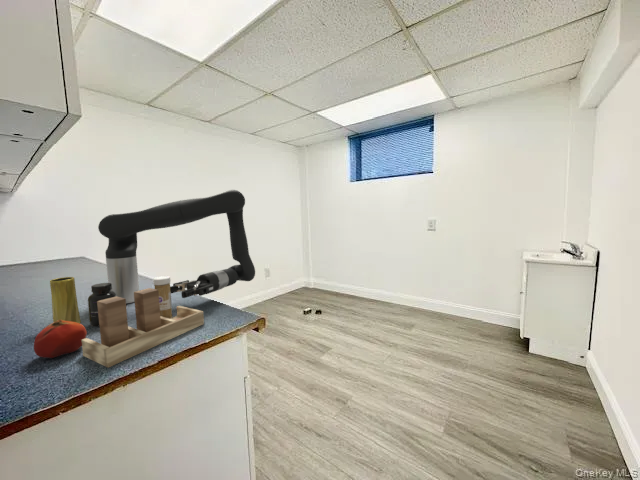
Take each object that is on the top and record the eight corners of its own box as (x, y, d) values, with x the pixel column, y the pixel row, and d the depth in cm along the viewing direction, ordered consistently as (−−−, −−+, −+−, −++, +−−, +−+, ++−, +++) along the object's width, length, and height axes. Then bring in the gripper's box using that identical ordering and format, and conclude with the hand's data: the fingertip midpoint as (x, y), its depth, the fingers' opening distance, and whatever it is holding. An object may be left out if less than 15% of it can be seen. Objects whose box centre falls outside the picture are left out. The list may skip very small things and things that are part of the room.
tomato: (82, 340, 70) (79, 311, 69) (93, 350, 64) (90, 319, 64) (31, 356, 62) (27, 323, 61) (39, 369, 57) (34, 333, 56)
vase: (47, 330, 76) (41, 282, 74) (62, 322, 82) (57, 277, 80) (72, 328, 77) (67, 280, 76) (85, 320, 83) (81, 276, 81)
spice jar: (154, 322, 81) (151, 279, 80) (158, 316, 85) (155, 276, 84) (171, 320, 82) (168, 278, 81) (174, 314, 87) (171, 275, 85)
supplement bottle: (91, 329, 76) (87, 289, 75) (88, 322, 81) (84, 284, 80) (120, 322, 81) (117, 284, 80) (116, 316, 86) (112, 280, 85)
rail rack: (83, 355, 62) (77, 302, 61) (180, 317, 84) (177, 278, 83) (108, 367, 57) (102, 310, 56) (204, 323, 79) (201, 282, 78)
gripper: (199, 270, 103) (159, 279, 89) (226, 273, 97) (187, 284, 83) (200, 288, 104) (160, 301, 90) (227, 293, 98) (189, 307, 84)
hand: (173, 293), depth 86 cm, fingers open, 8 cm apart
